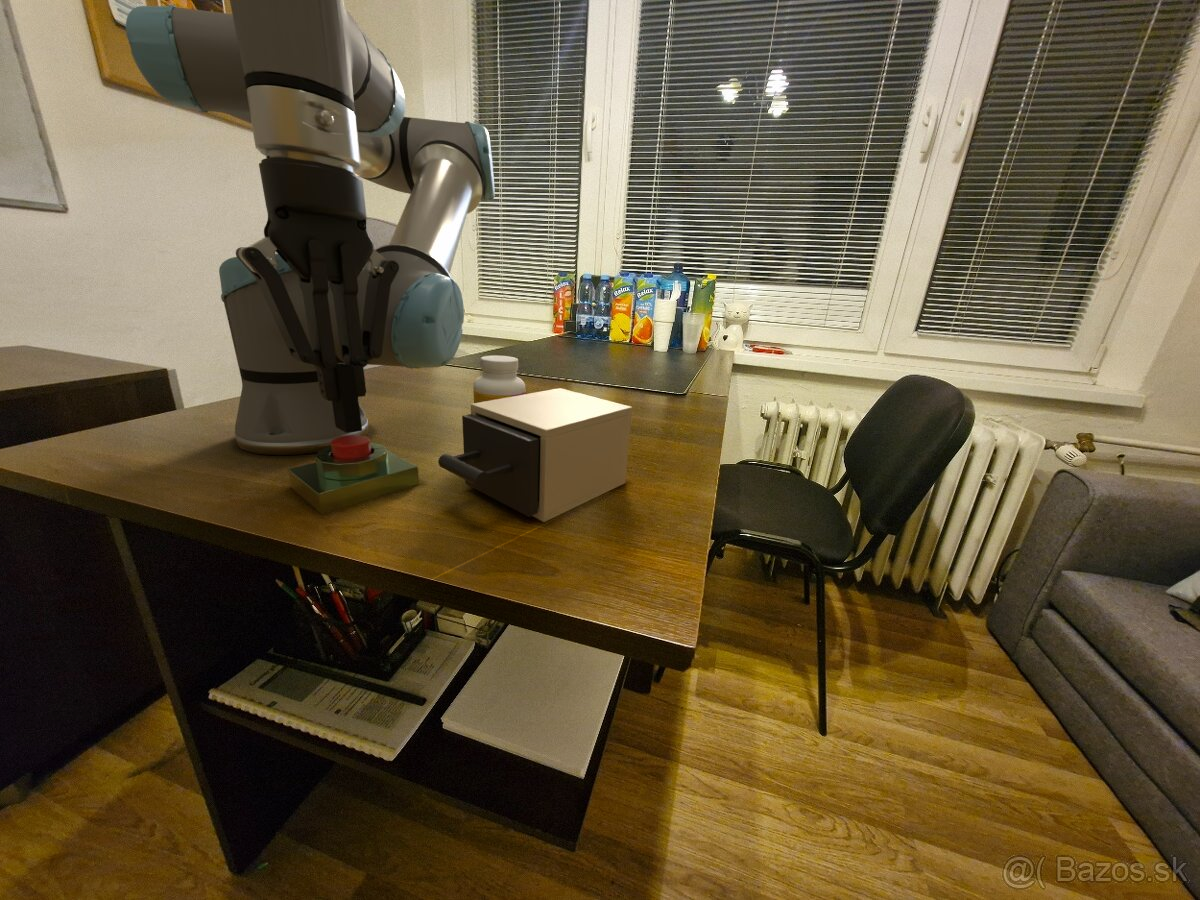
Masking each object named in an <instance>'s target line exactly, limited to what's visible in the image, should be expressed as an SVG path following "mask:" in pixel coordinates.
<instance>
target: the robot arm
mask: <svg viewBox="0 0 1200 900" xmlns="http://www.w3.org/2000/svg"><path fill="white" fill-rule="evenodd" d="M229 3H230V8H231V13H226V12H218V11H210V10H203V9H202V10H201V9H194V8H187V7H178V6H177V5H175V4H167V5H139V6H135V7H134V8H132V9H131V10H130V11H129V13H128V15H127V16H126V21H125V34H126V35H125V36H126V38H127V40H128V44H129V48H130V53H131V56H132V58H133V61H134V63H135V64H136V67H137V68H138V70H139V72H140V74H141V75H142V77H143V78H144V80H145V81H146V82H147V83H148V84H149V86H150V87H151V88H152V89H153V90H154V91H155V92H156V93H157V94H158V95H159V96H160V97H161V98H162V99H164V100H165V101H166V102H167V103H170V104H172V105H174V106H176V107H179V108H183V109H189V110H195V111H199V112H200V113H206V114H208V113H209V112H215V113H221V114H225V115H229V116H232V117H233V118H236V119H239V120H241V121H244V122H245V123H249V124H251V128H252V134H253V135H252V136H253V140H254V141H253V142H254V147H255V149H256V150H257V152H259V153H260V154H261V155H263V156H265V158H263V159H261V161H260V162H259V163H258V168H259V173H260V180H261V184H262V190H263V196H264V203H265V209H266V212H267V221H266V224H265V225H264V228H263V236H264V237H263V238H261V239H259V240H258V241H256V242H253V243H252V244H250V245H249V246H240V247H238V248H237V249H236V250H235V256H234V257H229V258H227V259H226V260H224V261H223V262H222V263H221V264H220V266H219V268H218V274H219V281H220V289H221V294H220V299H221V301H222V303H223V305H224V309H225V314H226V317H227V322H228V326H229V331H230V335H231V339H232V344H233V349H234V353H235V357H236V362H237V367H238V369H239V375H240V379H241V393H240V398H239V403H238V408H237V414H236V418H235V426H234V435H235V436H234V437H235V440H236V443H237V444H236V445H237V447H239V449H241V450H243V451H246V452H250V453H252V454H259V455H268V456H269V455H271V456H289V455H290V456H291V455H294V456H295V455H304V454H313V453H318V452H319V451H321V450H323V449H326V448H328V447H330V446H331V441H332V440H334V439H336V438H339V437H342V436H348V435H363V436H367V435H368V434H369V433H370V427H369V420H368V417H367V415H366V412H365V410H364V408H363V407H362V405H361V403H360V401H359V398H361V397H365V396H366V394H367V386H366V378H365V370H364V368H365V367H367V366H386V367H400V368H407V369H425V368H427V369H428V368H429V369H431V368H440V367H444V366H446V365H448V364H449V363H450V362H451V361H452V360H453V358H454V357H455V355H456V354H457V352H458V349H459V347H460V344H461V342H462V336H463V324H464V319H465V308H464V307H465V306H464V300H463V299H464V298H463V294H462V291H461V288H460V286H459V285H458V283H457V282H456V280H454V279H453V277H452V276H451V274H450V273H451V271H452V267H453V264H454V260H455V257H456V253H457V250H458V246H459V242H460V240H461V235H462V232H463V229H464V225H465V221H466V218H467V215H468V214H470V213H472V212H473V211H474V210H476V209H477V207H478V206H479V204H480V202H481V201H482V202H487V201H493V200H494V199H495V195H496V194H495V193H496V191H495V177H494V175H495V174H494V165H493V164H494V163H493V155H492V146H491V139H490V134H489V131H488V129H487V128H486V127H485V126H484V125H482V124H479V123H473V122H470V121H467V120H466V121H465V122H457V121H448V120H438V119H430V118H420V117H409V116H405V112H406V96H405V91H404V88H403V87H404V86H403V85H402V82H401V80H400V78H399V77H398V75H397V73H396V71H395V69H394V68H393V66H392V64H391V63H390V62H389V59H388V57H387V56H386V55H385V54H384V53H383V51H381V49H380V48H378V47H377V46H376V45H375V44H374V43H373V42H372V40H371V39H370V38H369V37H368V36H367V34H366V33H365V32H364V31H363V30H362V29H361V28H360V26H359V25H358V23H357V21H356V20H355V19H354V17H353V16H352V15H351V13H350V12H349V11H348V10H347V8H346V6H345V0H229ZM363 179H364V180H366V181H369V182H371V183H374V184H376V185H379V186H382V187H384V188H387V189H390V190H393V191H396V192H399V193H404V194H408V195H409V197H408V199H407V200H406V201H407V202H406V204H405V206H404V208H403V211H402V212H401V215H400V217H399V220H398V222H397V224H396V226H395V229H394V231H393V233H392V236H391V239H390V241H389V243H388V244H384V245H381V246H379V247H377V248H376V249H375V245H374V242H373V239H372V238H371V236H370V234H369V232H368V229H367V209H366V199H365V193H364V192H365V191H364V181H363Z"/></svg>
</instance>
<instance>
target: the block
mask: <svg viewBox="0 0 1200 900" xmlns="http://www.w3.org/2000/svg"><path fill="white" fill-rule="evenodd" d="M370 443H371V451H372V454H370V455H369V456H367V457H362V458H358V459H348V460H341V459H334V458H333V453H332V446H330V447H328V448H326V449H323V450H321V451H319V452H317V454H316V456H315V462H312V463H308V464H304V465H300V466H295V467H291V468H290V467H289V468H287V473H288V478H289V483H290V487H291V488H290V489H292V490H293V491H294V492H296V493H297V494H298V495H299V496H300V497H301V498H302V499H304V500H305V501H306V502H307V503H308V504H309V505H311V507H313V508H314V509H315V510H316V511H317V512H318V513H319V514H320V515H324V514H327V513H329V512H333V511H337V510H340V509H343V508H347V507H349V506H352V505H355V504H360V503H363V502H365V501H366V502H367V501H369V500H372V499H375V498H378V497H383V496H385V495H389V494H392V493H395V492H398V491H402V490H405V489H408V488H412V487H415V486H418V485H420V478H419V477H420V476H419V467H418V466H417V465H416V464H413V463H412V462H410V461H408V460H407V459H405V458H403V457H401V456H400V455H398V454H395V453H394V452H391V451H390V450H388V447H386V446H385V445H383V444H381V443H379V442H371V441H370Z"/></svg>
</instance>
